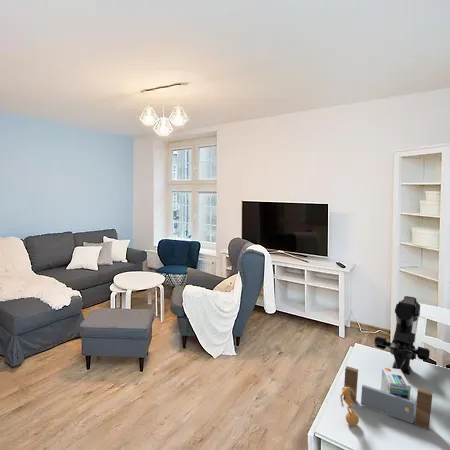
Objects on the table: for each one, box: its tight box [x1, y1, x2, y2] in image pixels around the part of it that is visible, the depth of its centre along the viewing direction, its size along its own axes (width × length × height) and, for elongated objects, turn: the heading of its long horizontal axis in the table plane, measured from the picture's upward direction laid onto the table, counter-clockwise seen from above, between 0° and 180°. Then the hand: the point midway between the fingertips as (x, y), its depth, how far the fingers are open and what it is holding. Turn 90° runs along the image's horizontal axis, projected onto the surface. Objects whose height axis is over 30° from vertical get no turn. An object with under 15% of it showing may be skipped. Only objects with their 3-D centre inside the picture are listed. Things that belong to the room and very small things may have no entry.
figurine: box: [339, 386, 360, 427], centre depth 106 cm, size 8×6×12 cm
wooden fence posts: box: [342, 365, 434, 431], centre depth 111 cm, size 2×26×12 cm, turn 56°
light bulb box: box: [380, 366, 412, 400], centre depth 115 cm, size 11×7×11 cm, turn 168°
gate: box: [360, 384, 416, 424], centre depth 110 cm, size 2×16×7 cm, turn 56°
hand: (398, 369), depth 122 cm, fingers closed
